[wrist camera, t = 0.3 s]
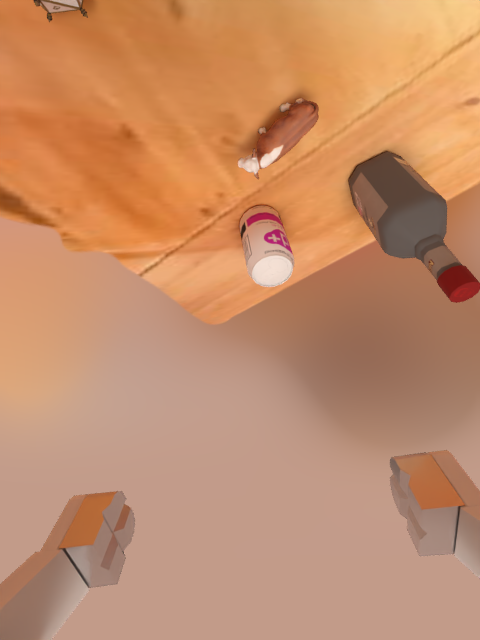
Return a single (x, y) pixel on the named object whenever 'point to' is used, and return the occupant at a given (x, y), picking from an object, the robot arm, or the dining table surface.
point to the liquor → (409, 220)
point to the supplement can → (266, 246)
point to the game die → (60, 6)
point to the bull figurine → (281, 135)
